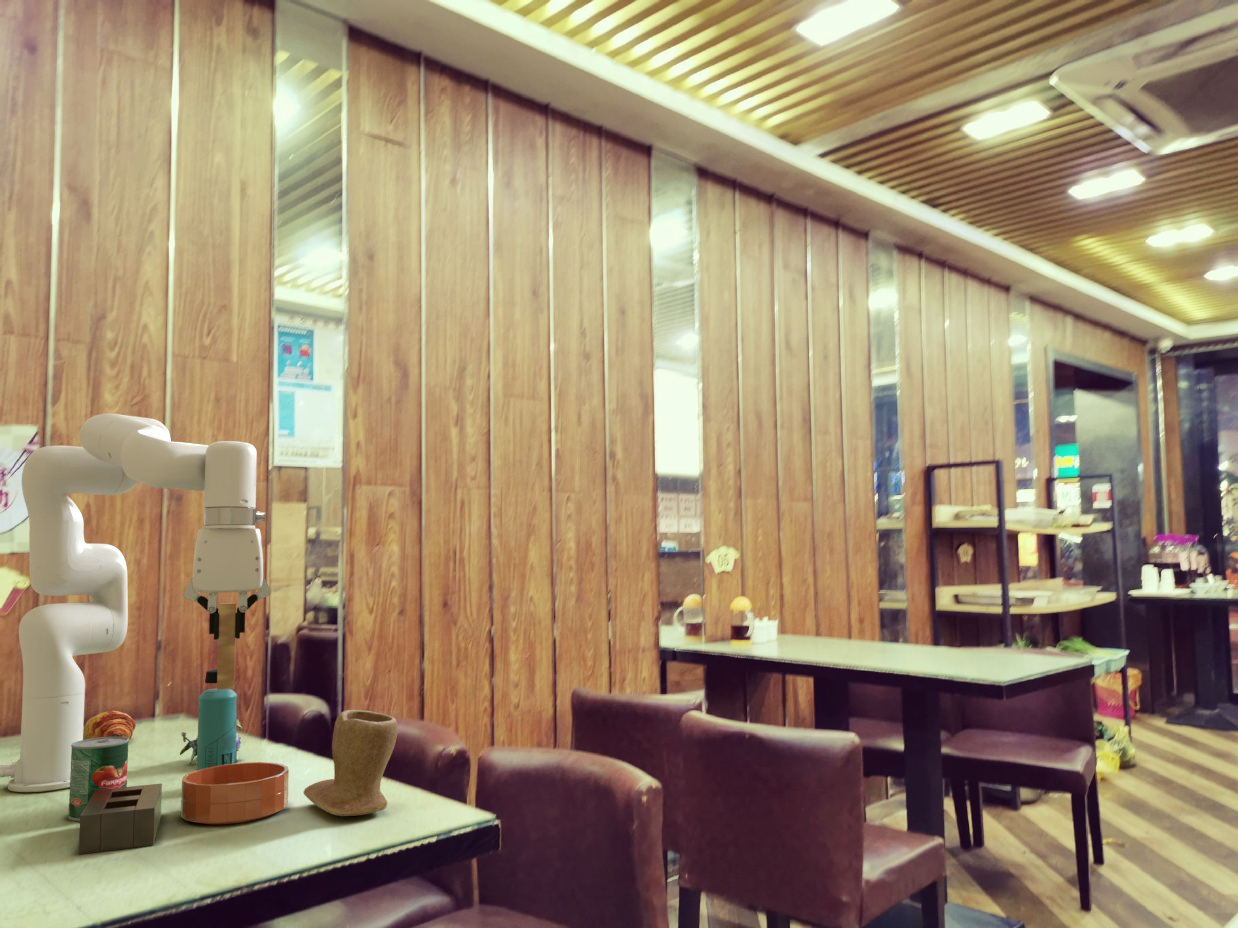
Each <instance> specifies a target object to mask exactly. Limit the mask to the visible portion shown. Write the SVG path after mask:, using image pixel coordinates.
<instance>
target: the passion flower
mask: <svg viewBox="0 0 1238 928" xmlns="http://www.w3.org/2000/svg"><path fill="white" fill-rule="evenodd" d="M236 725H237V726H236V728H239V729H240V730H243V731H244V730H245V727H244V725H243V723H241V722H240V720H239V719H238V718H237V721H236ZM186 735H187V732H185V731H182V732H181V734H180V736H181V737H182V741H183V743H186V742H187V743H186V745H184V747H182V749H181V750H180V752H179V755H180V756H182V755H183V754H184V753H186V752H187V751H189V750H190V749H192V753H191V755H190V756H191V757H190V762H189V765H191V764H192V763H193V761H194V759H195V758H197V743H196V742H197V738H198V736H196V738H195V739H193V740H190V739H189V738H188V737H186ZM241 739H242V738H241V736H240V734H238V733H236V741H237V742H236V749H237V752H239V750H240V748H241V743H242V741H241ZM238 761H239V756H238V755H237V762H238Z"/></svg>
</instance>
